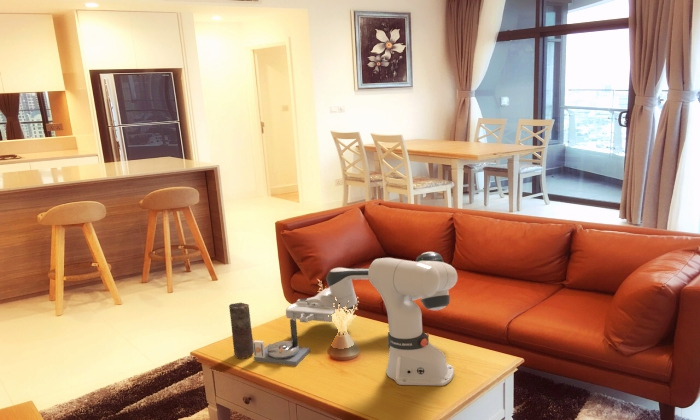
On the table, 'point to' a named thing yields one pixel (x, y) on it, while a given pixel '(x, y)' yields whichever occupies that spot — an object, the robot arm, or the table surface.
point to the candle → (241, 330)
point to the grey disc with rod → (285, 345)
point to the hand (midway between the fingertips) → (303, 320)
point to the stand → (262, 356)
